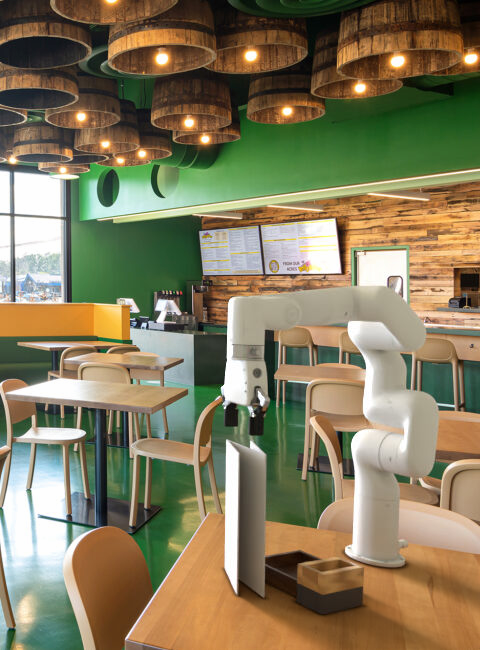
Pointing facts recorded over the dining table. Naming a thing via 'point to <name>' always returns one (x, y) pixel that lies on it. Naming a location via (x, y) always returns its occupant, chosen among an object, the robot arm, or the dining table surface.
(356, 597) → the frame low
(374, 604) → the dining table surface
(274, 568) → the holder
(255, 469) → the brochure
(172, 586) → the dining table surface
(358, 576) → the frame top
